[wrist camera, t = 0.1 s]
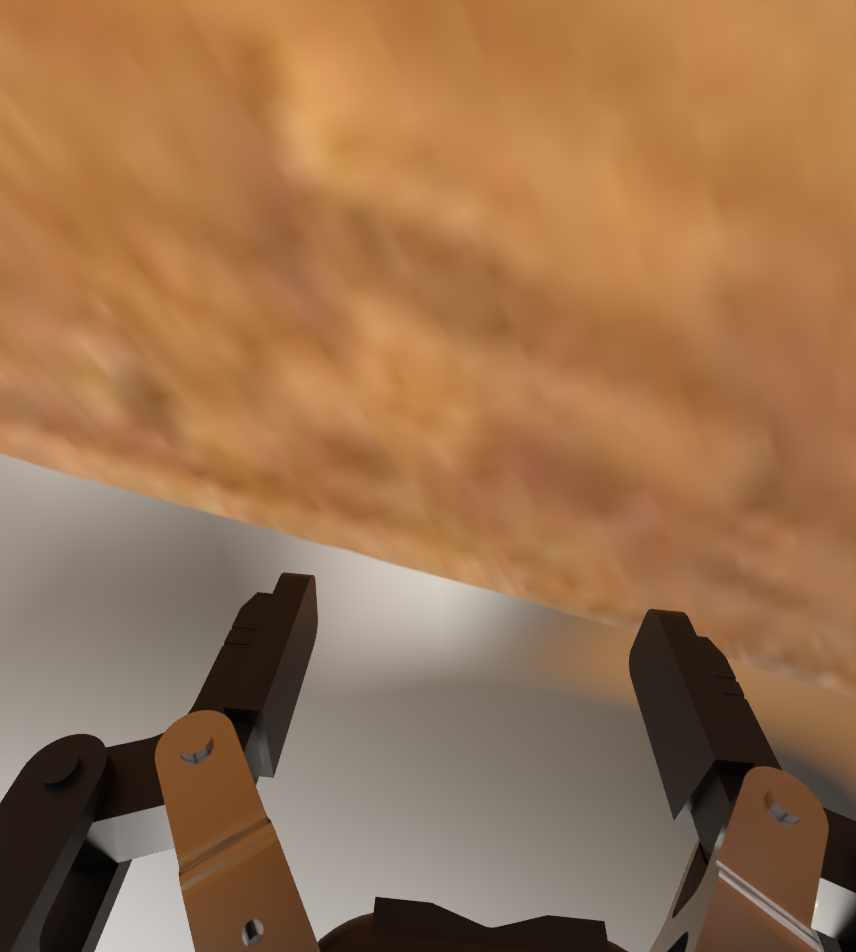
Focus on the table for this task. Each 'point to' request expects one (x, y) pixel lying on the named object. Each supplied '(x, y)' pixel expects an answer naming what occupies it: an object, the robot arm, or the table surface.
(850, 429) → the table surface
